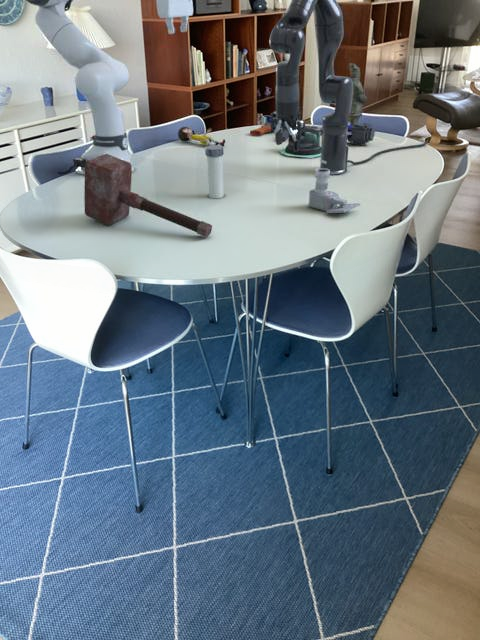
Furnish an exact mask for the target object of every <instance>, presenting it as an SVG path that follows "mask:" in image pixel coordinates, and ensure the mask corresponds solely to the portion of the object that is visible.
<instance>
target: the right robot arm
mask: <svg viewBox="0 0 480 640" xmlns="http://www.w3.org/2000/svg"><path fill="white" fill-rule="evenodd" d="M312 14H313V24H314V31H315V32H314V33H315V40H316V50H317V62H318V63H317V64H318V92H319V99H320V100H321V101H322V103H325V104H329V105H334V110H333V111H332V112H330V113H326V114H325V115H323V117H322V122H321V123H322V125H321V129H322V135H321V144H320V146H321V156H320V160H319V161H320V162H319V163H320V164H319V168H327V169H329V170H330V175H342V174H344V173H345V172H347V170H348V164H349V163H350V164H351V165H360V164H364V163H366V162H369V161H372V159H373V158H374V157H376V156H378V155H381V154H383V153H387V152H391V151H398V150H405V149H413V148H420V147H424V146H426V145H427V144H429V143H430V139H426V140H425V141H424V143H420V144H413V145H406V146H398V147H393V148H392V147H391V148H387V149H383V150H380V151H378V152H376V153H373V154H372V155H370V157H368V158H365V159H363V160H360V161H353V160H350V159H349V145H348V140H347V133H348V121H349V117H350V113H351V105H352V98H353V82H352V80H351V79H350V78H351V77H349V76H343V75H335V69H334V65H335V64H334V62H335V58H336V55H337V54H338V50H339V48H340V46H341V44H342V41H343V39H344V34H345V31H344V16H343V11H342V9H341V6H340V5H339V2H338V1H337V0H291V1H290V3H289V6H288V7H287V10H286V12H285V13H284V15H282V16H281V18H280V19H279V21H277V23H276V24H275V25H274V27H273V28H272V29H271V32H270V35H269V39H268V43H269V47H270V49H271V51H272V52H274V53H276V54H285V55H289V57H288V59H287V60H283V61H280V62H278V63H276V66H275V111H273V112H270V123H271V130H272V131H274V132H273V133H274V134H275V144H276V145H277V146H280V145H282V144H283V140H282V130H286V131H289V133H290V135H292V137H293V139H294V141H293V151H294V152H297V151H299V150H300V141H301V140H302V139H305V126H306V120H305V119H302V120H300V119H299V118H298V117H299V116H298V115H299V113H300V97H301V96H300V93H301V92H300V91H301V90H300V65H301V61H302V58H303V57H302V56H303V53H304V50H305V45H306V36H305V35H306V34H305V33H304V31H303V29H304V28H305V27H306V26H307V25H308V24H309V22H310V19H311V16H312ZM274 124H275V126H274ZM294 129H296V130H295V131H292V130H294ZM295 133H296V134H297V137H296V135H295ZM301 133H302V135H301Z"/></svg>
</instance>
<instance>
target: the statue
mask: <svg viewBox="0 0 480 640" xmlns="http://www.w3.org/2000/svg"><path fill="white" fill-rule="evenodd" d="M348 70H349V73H350V75H349V76H350V77H349V78H350V79H351V80H352V82H353V98H352V105H351V113H350V117H349V121H348V122H350V124H352V127H354V125H355V124H357V125H359V124H358V123H359V121H360V118H361V117H362V116H363V108H364V104H365V103H367V102H368V96H367V95H366V94H365V91H364V86H363V84H362V82H361V68H360V67H359V66H358V65H357V64H356V63H351V62H350V63H348Z"/></svg>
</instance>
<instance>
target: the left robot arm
mask: <svg viewBox="0 0 480 640" xmlns="http://www.w3.org/2000/svg"><path fill="white" fill-rule="evenodd" d="M25 1H26V2H27V3H29V4H31V5H32V6H35V7H38V10H37V12H36V14H35V16H34V17H35V18H34V21H35V25H36V27H37V28H38V30H39V31H40V32H41V34H42V36H43V37H44V38H45V40H46V41H47V42H48V43H49V44H50V46H51V47H52V48H53V49H54V50H55V51H56V52H57V53H58V55H60V57H61V58H62V59H63V60H64V61H65V62H66V63H68V65H70V66H71V67H75V68H76V69H77V71H76V73H75V76H74V84H75V87H76V89H77V91H78V92H79V94H80V95H82V96H83V97H84V99H85V100H86V101H87V104H88V106H89V110H90V112H91V115H92V121H93V126H94V133H95V134H93V135H92V136H90V137H89V141H92V145H91V146H90V147H88V148H87V149H86V150H85V151H84V152H83V153H82V154H81V157H76V158H73V159H72V161H73V165H71V166H70V167H69V168H68V169H67V170H65V171H60V170H58V171H57V174H62V175H63V174H68V173H70V172H71V171H72V169H74V168H75V167H77V168H76V169H75V174H79V175H84V176H85V163H86V161H87V160H90V159H93V158H96V157H99V156H101V155H104V154H109V155H111V156H114V157H116V158H119V159H122V160H124V161H127V162H129V163H130V164H131V165H132V172H134V171H135V168H134V165H133V164H132V160H131V156H130V152H129V142H128V135H127V132H126V126H125V119H124V118H125V117H124V112H123V110H122V109H121V107H119V105H118V103H117V101H116V99H115V96H114V93H118V92H119V91H121V90H123V89H124V87H126V86H127V85H128V83H129V80H130V73H129V70H128V67H127V66H126V65H125V64H124V63H123V62H122V61H119V60H117V59H116V58H114V57H112V56H110V55H109V54H108V53H107V52H105V51H104V50H103V49H102V48H100V47H99V46H97V45H96V44H95V43H93V42H92V41H91V40H90V38H88V37H87V36H86V35H85V34H84V33H83V31H81V30H80V28H78V27H77V25H76V24H75V23H74V22H73V21H72V20H71V19H70V18H69V16H68V15H67V14H66V12H67V11H69V10H70V9H71V5H72V3H73V1H74V0H25ZM155 2H156V10H157V15H158V17H159V18H160V19H164V21H165V25H166V27H167V33H168V35H174V34H176V27H174V18H180V26H179V28H180V30H179V31H180V32H181V33H187V31H188V26H187V25H188V22H189V17H192V16H193V15H194V4H193V3H194V1H193V0H155Z"/></svg>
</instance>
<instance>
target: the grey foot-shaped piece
mask: <svg viewBox="0 0 480 640" xmlns="http://www.w3.org/2000/svg"><path fill="white" fill-rule="evenodd" d="M330 175H331V174H330V170H329V169H327V168H320V167H319V168H315V175H314V178H315V188H313V189H311V190H309V192H308V193H309V194H308V195H309V196H308V207H310V208H313V209H317V210H319V211H320V210H321V211H324V212H325V214H344V213H345V214H346V213H347V212H349V211H351V210H353V209H355V208H357V207H360V206H361V203H359V202H357V203H348V200H347V199H344V198H341V197H339V194H338V193H337V192H334V191H330V190H328V187H329V180H330Z"/></svg>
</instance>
